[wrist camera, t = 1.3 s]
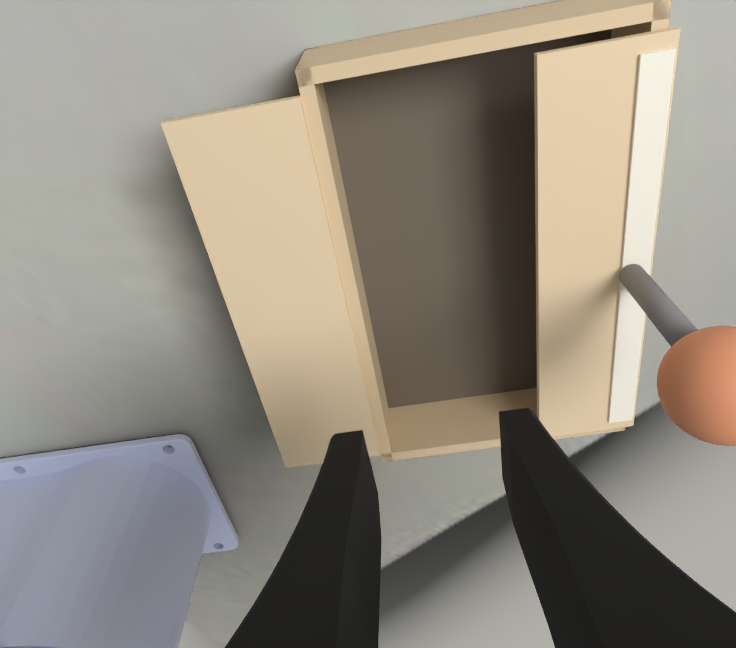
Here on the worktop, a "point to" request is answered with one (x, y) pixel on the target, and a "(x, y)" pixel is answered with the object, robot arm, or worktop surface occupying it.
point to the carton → (390, 229)
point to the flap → (613, 246)
